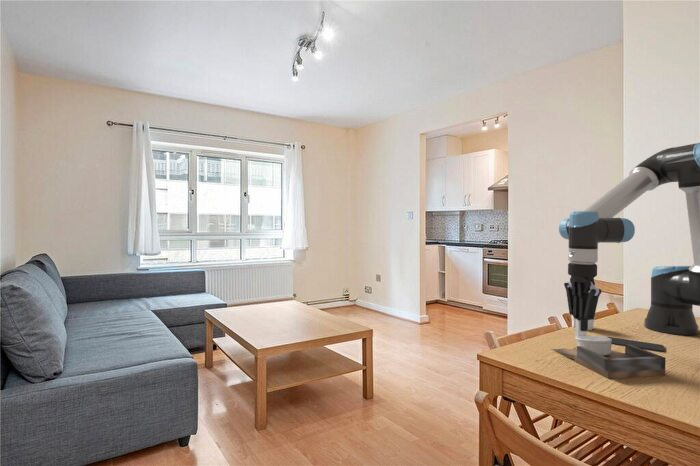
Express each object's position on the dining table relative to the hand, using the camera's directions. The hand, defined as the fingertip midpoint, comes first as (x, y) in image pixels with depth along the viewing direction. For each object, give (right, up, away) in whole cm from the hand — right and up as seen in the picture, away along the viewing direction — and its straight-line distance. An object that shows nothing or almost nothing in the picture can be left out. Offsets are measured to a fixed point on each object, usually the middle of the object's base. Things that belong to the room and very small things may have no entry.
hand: (580, 340), depth 117 cm
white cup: (+16, -3, +26) cm, 30 cm away
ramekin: (+1, -2, -6) cm, 6 cm away
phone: (+21, -4, +6) cm, 22 cm away
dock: (+1, -4, -8) cm, 9 cm away
